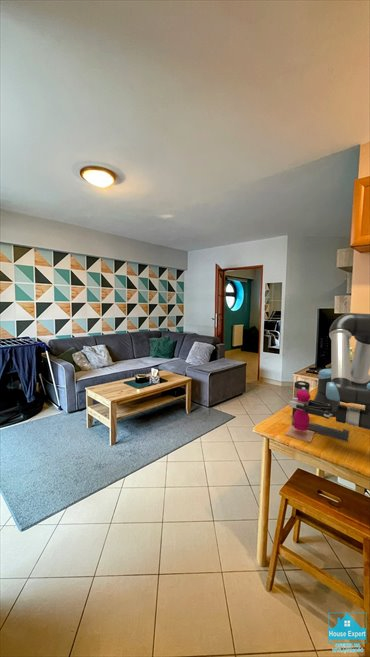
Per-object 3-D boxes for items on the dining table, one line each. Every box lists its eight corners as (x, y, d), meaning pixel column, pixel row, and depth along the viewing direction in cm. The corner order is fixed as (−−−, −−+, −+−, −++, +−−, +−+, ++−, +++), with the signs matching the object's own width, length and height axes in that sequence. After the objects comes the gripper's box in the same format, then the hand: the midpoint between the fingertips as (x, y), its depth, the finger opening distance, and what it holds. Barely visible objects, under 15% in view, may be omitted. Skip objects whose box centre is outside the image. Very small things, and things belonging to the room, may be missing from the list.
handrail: (348, 439, 119) (349, 430, 119) (347, 441, 117) (348, 432, 117) (292, 424, 133) (293, 415, 133) (291, 425, 131) (292, 417, 131)
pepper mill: (295, 422, 128) (298, 383, 126) (310, 427, 123) (314, 387, 121) (290, 428, 122) (293, 387, 120) (306, 433, 118) (310, 391, 116)
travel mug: (308, 422, 136) (311, 385, 134) (293, 420, 137) (296, 384, 135) (304, 416, 143) (307, 381, 141) (290, 414, 145) (293, 380, 143)
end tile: (314, 433, 124) (314, 431, 124) (310, 442, 116) (310, 441, 115) (290, 426, 131) (290, 425, 131) (285, 434, 122) (285, 433, 122)
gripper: (344, 431, 104) (285, 415, 118) (347, 416, 119) (294, 403, 132) (346, 413, 104) (286, 399, 117) (348, 400, 118) (295, 389, 132)
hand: (290, 401), depth 125 cm, fingers closed on pepper mill, 5 cm apart
